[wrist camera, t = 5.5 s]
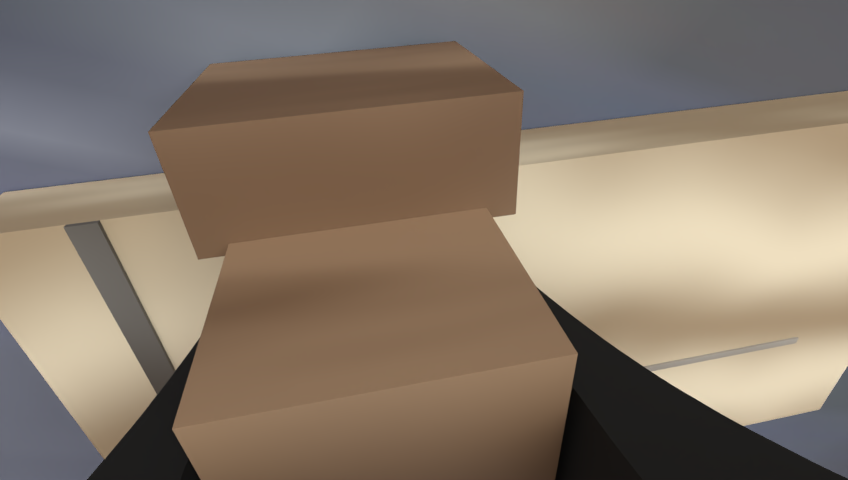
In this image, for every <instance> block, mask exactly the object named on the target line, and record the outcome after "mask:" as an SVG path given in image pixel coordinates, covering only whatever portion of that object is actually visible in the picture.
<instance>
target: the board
mask: <svg viewBox="0 0 848 480" xmlns="http://www.w3.org/2000/svg"><path fill="white" fill-rule="evenodd" d="M493 219H494V220H495V222H496V223H497V225H498V227H499V228H500V230H501V231H502V233H503V235H504V236H505V238H506V239H507V241H508V243H509V244H510V246H511V247H512V249H513V251H514V252H515V254H516V255H517V257H518V259H519V260H520V262H521V263H522V265H523V267H524V268H525V270H526V271H527V273H528V275H529V276H530V278H531V279H532V281H533V283H534V284H535V286H536V287H537V288H539V289H540V290H541V291H542V292H543V293H545V294H546V295H547V296H548V297H550V298H551V299H552V300H553V301H555V302H556V303H557V304H558V305H560V306H561V307H562V308H563V309H565V310H566V311H567V312H568V313H570V314H571V315H572V316H574V317H575V318H576V319H578V320H579V321H580V322H582V323H583V324H584V325H586V326H587V327H588V328H589V329H591V330H592V331H593V332H595V333H596V334H597V335H599V336H600V337H602V338H603V339H604V340H606V341H607V342H609V343H610V344H611V345H613V346H614V347H616V348H617V349H618V350H620V351H621V352H623V353H624V354H626V355H627V356H629V357H630V358H632V359H633V360H635V361H636V362H638V363H639V364H641V365H642V366H644V367H645V368H647V369H648V370H649V371H651V372H652V373H654V374H656V375H657V376H659V377H660V378H662V379H664V380H665V381H667V382H668V383H670V384H671V385H673V386H675V387H676V388H678V389H680V390H681V391H683V392H685V393H686V394H688V395H690V396H692V397H693V398H695V399H697V400H698V401H700V402H702V403H703V404H705V405H707V406H709V407H710V408H712V409H714V410H715V411H717V412H719V413H720V414H722V415H724V416H726V417H728V418H729V419H731V420H733V421H735V422H737V423H739V424H740V425H742V426H745V425H750V424H754V423H759V422H764V421H768V420H773V419H778V418H782V417H787V416H791V415H796V414H801V413H805V412H810V411H814V410H819V409H820V408H821V406H822V405H823V403H824V402H825V400H826V398H827V397H828V395H829V394H830V392H831V391H832V389H833V388H834V386H835V385H836V383H837V381H838V380H839V378H840V377H841V375H842V374H843V372H844V371H845V369H846V367H847V366H848V91H843V92H835V93H826V94H818V95H810V96H801V97H793V98H785V99H776V100H768V101H760V102H751V103H743V104H735V105H726V106H718V107H710V108H701V109H693V110H685V111H676V112H668V113H660V114H652V115H643V116H635V117H627V118H618V119H610V120H602V121H593V122H585V123H577V124H568V125H560V126H552V127H543V128H535V129H527V130H521V139H520V155H519V171H518V187H517V203H516V214H514V215H507V216H500V217H493ZM224 258H225V256H221V257H214V258H207V259H200V260H198V258H197V255H196V253H195V250H194V248H193V245H192V243H191V240H190V238H189V235H188V232H187V230H186V227H185V225H184V222H183V220H182V217H181V215H180V212H179V209H178V207H177V204H176V202H175V199H174V197H173V194H172V192H171V189H170V186H169V184H168V181H167V179H166V176H165V174H164V173H160V174H152V175H144V176H136V177H127V178H119V179H111V180H102V181H94V182H86V183H77V184H69V185H61V186H52V187H44V188H36V189H27V190H19V191H11V192H4V193H2V194H1V195H0V319H1V321H2V322H3V323H4V325H5V326H6V328H7V329H8V330H9V332H10V333H11V334H12V336H13V337H14V338H15V340H16V341H17V342H18V344H19V345H20V346H21V348H22V349H23V350H24V352H25V353H26V354H27V356H28V357H29V359H30V360H31V361H32V363H33V364H34V365H35V367H36V368H37V369H38V371H39V372H40V373H41V375H42V376H43V377H44V379H45V380H46V381H47V383H48V384H49V386H50V387H51V388H52V390H53V391H54V392H55V394H56V395H57V396H58V398H59V399H60V400H61V402H62V403H63V404H64V406H65V407H66V408H67V410H68V411H69V412H70V414H71V415H72V417H73V418H74V419H75V421H76V422H77V423H78V425H79V426H80V427H81V429H82V430H83V431H84V433H85V434H86V435H87V437H88V438H89V439H90V441H91V442H92V444H93V445H94V446H95V448H96V449H97V450H98V452H99V453H100V454H101V456H102V457H103V458H104V459H105V458H106V457H107V456H108V454H109V453H110V452H111V451H112V450H113V449H114V447H115V446H116V445H117V444H118V443H119V441H120V440H121V439H122V438H123V437H124V435H125V434H126V433H127V432H128V431H129V429H130V428H131V427H132V426H133V425H134V423H135V422H136V421H137V420H138V418H139V417H140V416H141V415H142V413H143V412H144V411H145V410H146V408H147V407H148V406H149V404H150V403H151V402H152V401H153V399H154V398H155V397H156V395H157V394H158V393H159V391H160V390H161V389H162V388H163V386H164V385H165V384H166V382H167V381H168V380H169V379H170V377H171V376H172V375H173V373H174V372H175V371H176V369H177V368H178V367H179V365H180V364H181V363H182V361H183V360H184V358H185V357H186V356H187V354H188V353H189V352H190V350H191V349H192V348H193V346H194V345H195V343H196V342H197V341H198V339H199V338H200V336H201V333H202V330H203V326H204V323H205V320H206V317H207V313H208V310H209V307H210V303H211V300H212V297H213V294H214V290H215V287H216V284H217V281H218V277H219V274H220V271H221V268H222V264H223V261H224Z"/></svg>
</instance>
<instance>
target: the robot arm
mask: <svg viewBox="0 0 848 480" xmlns="http://www.w3.org/2000/svg"><path fill="white" fill-rule="evenodd" d="M537 289H538V291H539V292H540V294H541V295H542V297H543V299H544V300H545V302H546V303H547V305H548V307H549V308H550V310H551V311H552V313H553V315H554V316H555V318H556V319H557V321H558V323H559V324H560V326H561V327H562V329H563V331H564V332H565V334H566V335H567V337H568V339H569V340H570V342H571V343H572V345H573V347H574V348H575V350H576V351H577V353H578V356H577V361H576V367H575V372H574V378H573V383H572V389H571V394H570V400H569V406H568V411H567V417H566V422H565V428H564V433H563V439H562V444H561V450H560V455H559V461H558V466H557V472H556V477H555V480H848V479H847V478H845V477H843V476H841V475H839V474H836V473H834V472H832V471H830V470H828V469H826V468H824V467H822V466H820V465H818V464H816V463H814V462H812V461H810V460H808V459H806V458H804V457H802V456H800V455H798V454H796V453H794V452H792V451H790V450H788V449H786V448H784V447H782V446H780V445H778V444H776V443H775V442H773V441H771V440H769V439H767V438H765V437H763V436H761V435H759V434H757V433H755V432H753V431H751V430H749V429H748V428H746V427H744V426H742V425H740V424H739V423H737V422H735V421H733V420H731V419H729V418H728V417H726V416H724V415H722V414H720V413H719V412H717V411H715V410H714V409H712V408H710V407H709V406H707V405H705V404H703V403H702V402H700V401H698V400H697V399H695V398H693V397H692V396H690V395H688V394H686V393H685V392H683V391H681V390H680V389H678V388H676V387H675V386H673V385H671V384H670V383H668V382H667V381H665V380H664V379H662V378H660V377H659V376H657V375H656V374H654V373H652V372H651V371H649V370H648V369H647V368H645V367H644V366H642V365H641V364H639V363H638V362H636V361H635V360H633V359H632V358H630V357H629V356H627V355H626V354H624V353H623V352H621V351H620V350H618V349H617V348H616V347H614V346H613V345H611V344H610V343H609V342H607V341H606V340H604V339H603V338H602V337H600V336H599V335H597V334H596V333H595V332H593V331H592V330H591V329H589V328H588V327H587V326H586V325H584V324H583V323H582V322H580V321H579V320H578V319H576V318H575V317H574V316H572V315H571V314H570V313H568V312H567V311H566V310H565V309H563V308H562V307H561V306H560V305H558V304H557V303H556V302H555V301H553V300H552V299H551V298H550V297H548V296H547V295H546V294H545V293H543V292H542V291H541V290H540V289H539V288H537ZM199 339H200V338H199ZM199 339H198V341H197V342H196V343H195V345H194V346H193V348H192V349H191V350H190V352H189V353H188V354H187V356H186V357H185V358H184V360H183V361H182V363H181V364H180V365H179V367H178V368H177V369H176V371H175V372H174V373H173V375H172V376H171V377H170V379H169V380H168V381H167V382H166V384H165V385H164V386H163V388H162V389H161V390H160V391H159V393H158V394H157V395H156V397H155V398H154V399H153V401H152V402H151V403H150V404H149V406H148V407H147V408H146V410H145V411H144V412H143V413H142V415H141V416H140V417H139V418H138V420H137V421H136V422H135V423H134V425H133V426H132V427H131V428H130V429H129V431H128V432H127V433H126V434H125V435H124V437H123V438H122V439H121V440H120V441H119V443H118V444H117V445H116V446H115V447H114V449H113V450H112V451H111V452H110V453H109V454H108V456H107V457H106V458H105V459H104V460H103V462H102V463H101V464H100V465H99V466H98V468H97V469H96V470H95V471H94V472H93V473H92V475H91V476H90V477H89V478H88V479H87V480H201V479H200V478H199V476H198V474H197V472H196V471H195V469H194V467H193V465H192V464H191V462H190V460H189V458H188V457H187V455H186V453H185V451H184V449H183V448H182V446H181V444H180V442H179V441H178V439H177V437H176V435H175V434H174V432H173V430H172V427H173V424H174V421H175V417H176V414H177V411H178V408H179V404H180V401H181V398H182V395H183V391H184V388H185V385H186V382H187V378H188V375H189V372H190V369H191V365H192V362H193V359H194V356H195V352H196V349H197V346H198V343H199Z"/></svg>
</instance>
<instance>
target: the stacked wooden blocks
mask: <svg viewBox="0 0 848 480" xmlns="http://www.w3.org/2000/svg"><path fill="white" fill-rule="evenodd" d="M522 107H523V90H522V89H520V88H519V87H517V86H516V85H515V84H513V83H512V82H511V81H509V80H508V79H506V78H505V77H504V76H502V75H501V74H500V73H498V72H497V71H496V70H494V69H493V68H491V67H490V66H489V65H487V64H486V63H485V62H483V61H482V60H480V59H479V58H478V57H476V56H475V55H474V54H472V53H471V52H470V51H468V50H467V49H465V48H464V47H463V46H461V45H460V44H459V43H457V42H456V41H452V42H442V43H431V44H420V45H409V46H399V47H388V48H377V49H367V50H356V51H345V52H334V53H324V54H313V55H302V56H292V57H281V58H270V59H260V60H249V61H238V62H227V63H217V64H210V65H209V66H208V67H207V68H206V69H205V70H204V72H203V73H202V74H201V75H200V76H199V77H198V78H197V79H196V80H195V81H194V82H193V84H192V85H191V86H190V87H189V88H188V89H187V90H186V91H185V92H184V93H183V94H182V96H181V97H180V98H179V99H178V100H177V101H176V102H175V103H174V104H173V105H172V106H171V108H170V109H169V110H168V111H167V112H166V113H165V114H164V115H163V116H162V117H161V118H160V120H159V121H158V122H157V123H156V124H155V125H154V126H153V127H152V128H151V129H150V130H149V132H148V133H149V135H150V138H151V141H152V143H153V146H154V148H155V151H156V153H157V156H158V158H159V161H160V164H161V166H162V169H163V171H164V174H165V176H166V179H167V181H168V184H169V186H170V189H171V192H172V194H173V197H174V199H175V202H176V204H177V207H178V209H179V212H180V215H181V217H182V220H183V222H184V225H185V227H186V230H187V232H188V235H189V238H190V240H191V243H192V245H193V248H194V250H195V253H196V255H197V258H198V260H200V259H207V258H214V257H221V256H225V258H224V261H223V264H222V268H221V271H220V274H219V277H218V281H217V284H216V287H215V290H214V294H213V297H212V300H211V303H210V307H209V310H208V313H207V317H206V320H205V323H204V326H203V330H202V333H201V336H200V339H199V343H198V346H197V349H196V352H195V356H194V359H193V362H192V365H191V369H190V372H189V375H188V378H187V382H186V385H185V388H184V391H183V395H182V398H181V401H180V404H179V408H178V411H177V414H176V417H175V421H174V424H173V427H172V430H173V432H174V434H175V435H176V437H177V439H178V441H179V442H180V444H181V446H182V448H183V449H184V451H185V453H186V455H187V457H188V458H189V460H190V462H191V464H192V465H193V467H194V469H195V471H196V472H197V474H198V476H199V478H200V479H201V480H555V477H556V472H557V466H558V461H559V455H560V450H561V444H562V439H563V433H564V428H565V422H566V417H567V411H568V406H569V400H570V394H571V389H572V383H573V378H574V372H575V367H576V361H577V356H578V353H577V351H576V350H575V348H574V347H573V345H572V343H571V342H570V340H569V339H568V337H567V335H566V334H565V332H564V331H563V329H562V327H561V326H560V324H559V323H558V321H557V319H556V318H555V316H554V315H553V313H552V311H551V310H550V308H549V307H548V305H547V303H546V302H545V300H544V299H543V297H542V295H541V294H540V292H539V291H538V289H537V287H536V286H535V284H534V283H533V281H532V279H531V278H530V276H529V275H528V273H527V271H526V270H525V268H524V267H523V265H522V263H521V262H520V260H519V259H518V257H517V255H516V254H515V252H514V251H513V249H512V247H511V246H510V244H509V243H508V241H507V239H506V238H505V236H504V235H503V233H502V231H501V230H500V228H499V227H498V225H497V223H496V222H495V220H494V219H493V217H500V216H507V215H514V214H516V203H517V187H518V171H519V155H520V139H521V123H522Z"/></svg>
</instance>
